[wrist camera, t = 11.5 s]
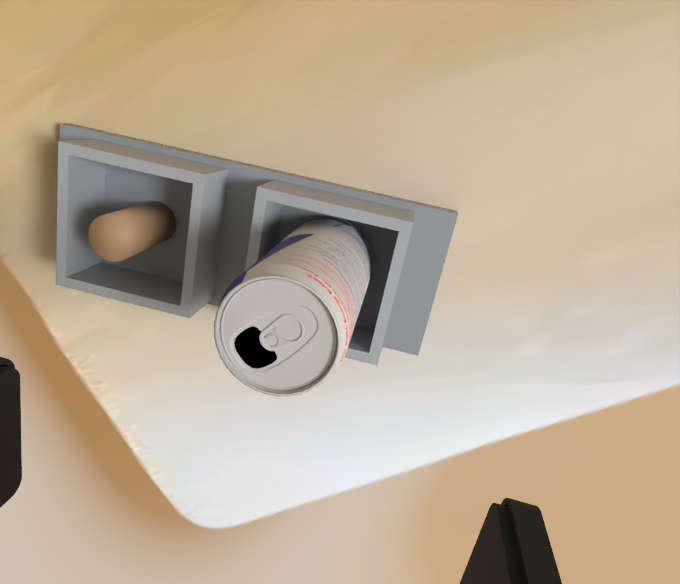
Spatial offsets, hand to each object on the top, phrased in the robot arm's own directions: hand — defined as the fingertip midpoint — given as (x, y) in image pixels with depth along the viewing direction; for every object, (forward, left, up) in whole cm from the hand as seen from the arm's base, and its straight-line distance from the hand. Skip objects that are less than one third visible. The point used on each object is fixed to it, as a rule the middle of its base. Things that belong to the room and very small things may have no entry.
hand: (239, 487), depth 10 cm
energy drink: (+1, -2, -22) cm, 22 cm away
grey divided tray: (+2, -7, -23) cm, 24 cm away
